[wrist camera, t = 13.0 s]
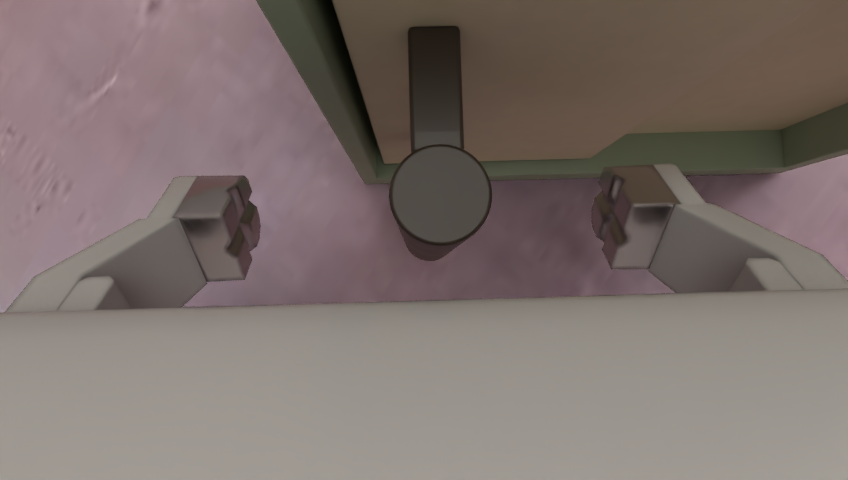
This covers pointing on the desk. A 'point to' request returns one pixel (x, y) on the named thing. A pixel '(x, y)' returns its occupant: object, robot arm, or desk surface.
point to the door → (524, 86)
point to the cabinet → (657, 136)
